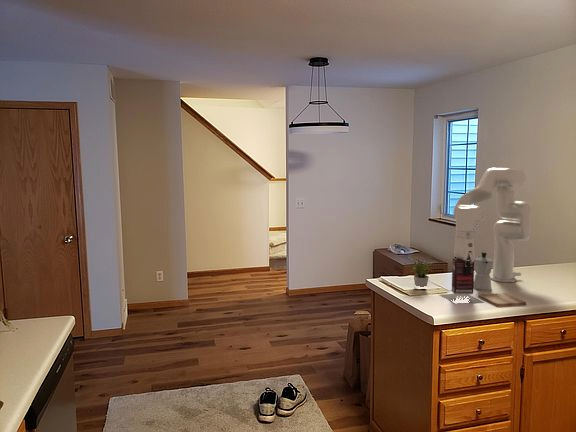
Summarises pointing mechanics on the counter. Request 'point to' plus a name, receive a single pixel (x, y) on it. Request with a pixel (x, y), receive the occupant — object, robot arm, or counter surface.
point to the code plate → (454, 296)
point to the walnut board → (501, 299)
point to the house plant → (421, 273)
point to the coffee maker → (483, 273)
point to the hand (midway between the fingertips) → (462, 273)
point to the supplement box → (461, 278)
